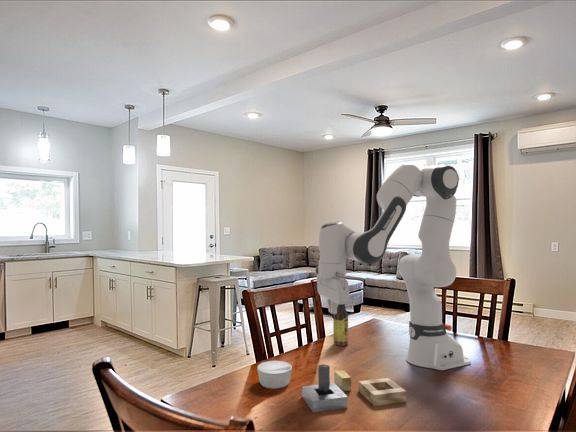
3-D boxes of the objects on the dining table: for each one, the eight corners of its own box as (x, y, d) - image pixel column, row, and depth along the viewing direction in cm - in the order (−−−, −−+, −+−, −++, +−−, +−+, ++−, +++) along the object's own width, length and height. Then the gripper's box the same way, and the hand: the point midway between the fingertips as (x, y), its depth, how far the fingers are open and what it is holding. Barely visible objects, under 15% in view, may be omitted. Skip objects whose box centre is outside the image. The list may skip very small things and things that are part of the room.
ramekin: (279, 393, 117) (279, 375, 117) (249, 385, 123) (249, 368, 123) (298, 380, 126) (298, 364, 126) (270, 374, 132) (270, 358, 132)
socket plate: (334, 392, 117) (334, 382, 117) (347, 407, 107) (347, 396, 107) (302, 396, 114) (302, 386, 114) (313, 412, 104) (312, 401, 105)
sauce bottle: (348, 347, 161) (347, 298, 161) (332, 346, 162) (332, 298, 162) (348, 342, 167) (348, 295, 168) (334, 341, 168) (333, 295, 169)
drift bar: (343, 382, 124) (343, 370, 124) (351, 390, 118) (351, 377, 118) (334, 384, 123) (334, 371, 123) (341, 391, 117) (341, 378, 117)
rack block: (388, 387, 120) (388, 377, 120) (406, 401, 111) (406, 390, 111) (358, 391, 118) (358, 381, 118) (374, 405, 108) (374, 395, 108)
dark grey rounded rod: (327, 399, 113) (327, 364, 113) (331, 403, 109) (331, 367, 110) (317, 400, 112) (316, 365, 112) (320, 405, 109) (320, 369, 109)
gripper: (354, 274, 120) (354, 319, 120) (330, 267, 140) (330, 306, 139) (335, 275, 118) (335, 321, 118) (313, 268, 138) (313, 307, 138)
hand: (332, 313), depth 129 cm, fingers closed
